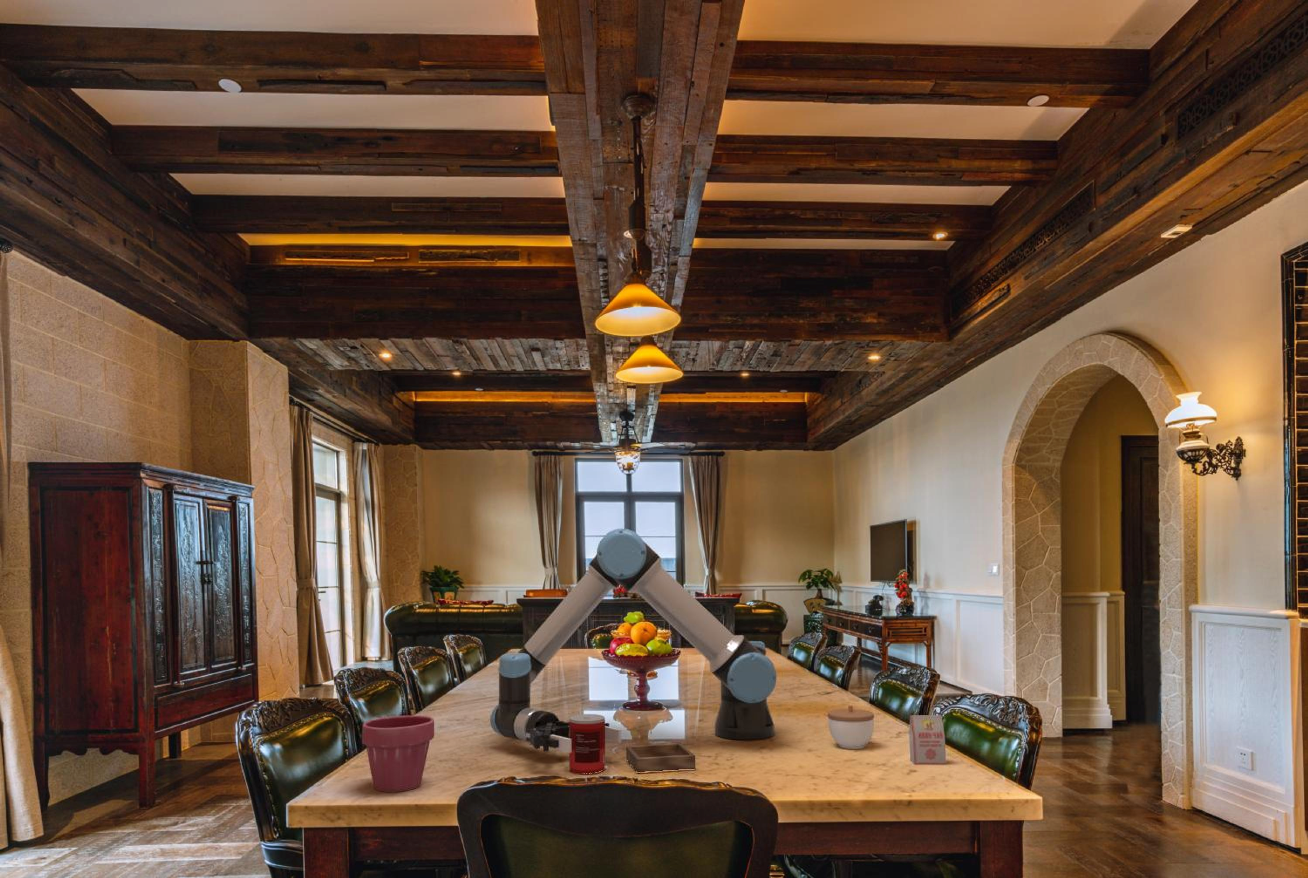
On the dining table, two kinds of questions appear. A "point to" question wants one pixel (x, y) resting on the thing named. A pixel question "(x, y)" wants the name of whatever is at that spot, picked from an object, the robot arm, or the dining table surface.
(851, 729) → the lidded jar
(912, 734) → the white tea box
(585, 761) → the canned food
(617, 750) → the dining table surface
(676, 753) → the walnut tray
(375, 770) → the plant pot
